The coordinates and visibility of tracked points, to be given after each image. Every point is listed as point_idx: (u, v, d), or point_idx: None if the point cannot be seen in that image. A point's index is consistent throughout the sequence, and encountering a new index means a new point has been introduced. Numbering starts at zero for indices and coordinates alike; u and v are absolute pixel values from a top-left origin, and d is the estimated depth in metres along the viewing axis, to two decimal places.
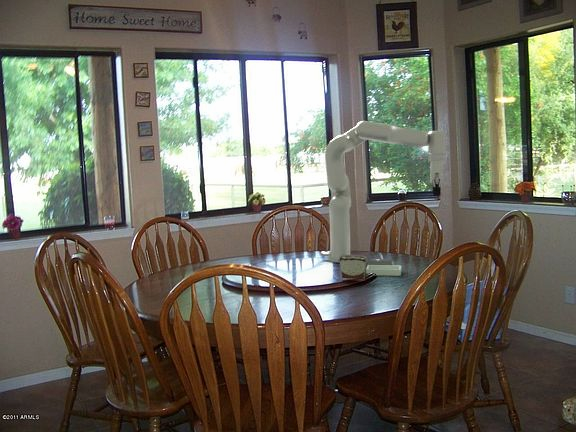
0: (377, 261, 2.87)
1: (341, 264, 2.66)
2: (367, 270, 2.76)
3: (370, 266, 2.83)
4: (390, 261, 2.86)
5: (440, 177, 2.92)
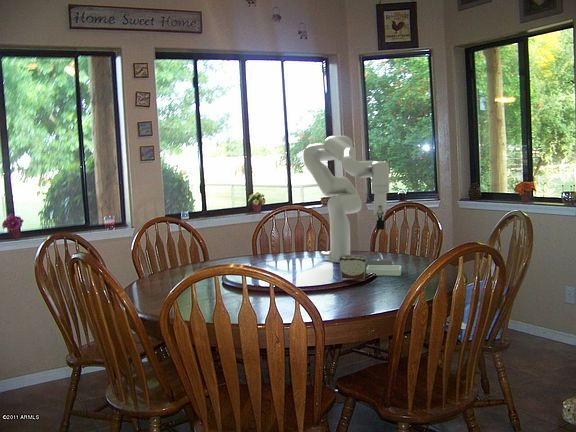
0: (377, 261, 2.87)
1: (341, 264, 2.66)
2: (367, 270, 2.76)
3: (370, 266, 2.83)
4: (390, 261, 2.86)
5: (383, 210, 2.81)
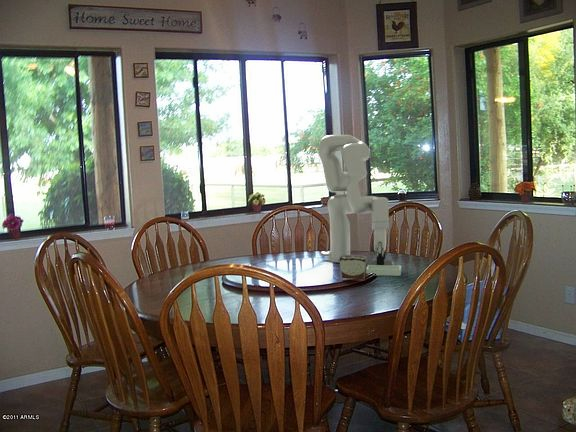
0: None
1: (341, 264, 2.66)
2: (367, 270, 2.76)
3: (370, 266, 2.83)
4: (390, 261, 2.86)
5: (383, 246, 2.82)
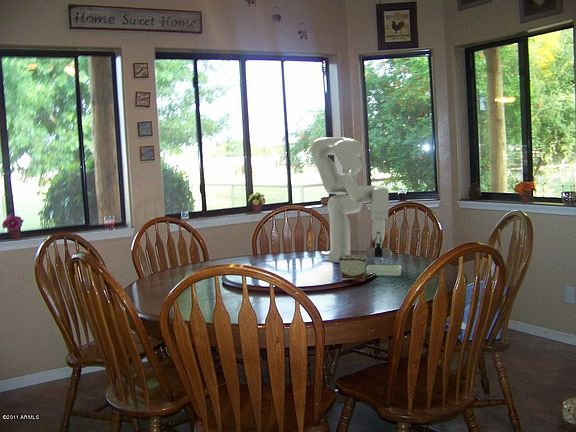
0: None
1: (341, 264, 2.66)
2: (367, 270, 2.76)
3: (370, 266, 2.83)
4: (388, 250, 2.86)
5: (382, 239, 2.83)
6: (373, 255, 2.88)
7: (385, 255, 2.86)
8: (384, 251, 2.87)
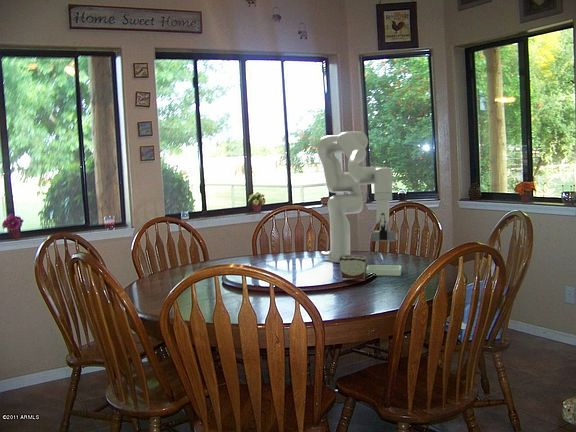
0: None
1: (341, 264, 2.66)
2: (367, 270, 2.76)
3: (370, 266, 2.83)
4: (394, 233, 2.74)
5: None
6: (378, 238, 2.76)
7: (390, 238, 2.74)
8: (389, 233, 2.75)
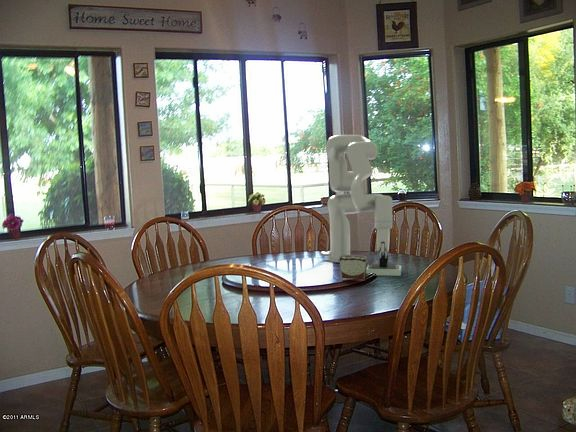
0: None
1: (341, 264, 2.66)
2: (367, 270, 2.76)
3: (370, 266, 2.83)
4: (394, 264, 2.76)
5: (386, 248, 2.73)
6: None
7: None
8: (389, 265, 2.76)
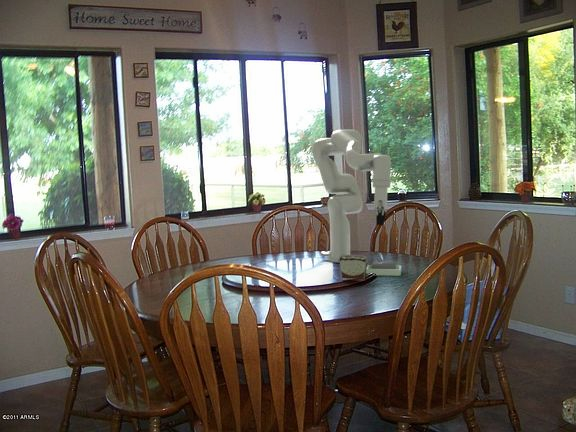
0: (380, 264, 2.77)
1: (341, 264, 2.66)
2: (367, 270, 2.76)
3: (370, 266, 2.83)
4: (394, 264, 2.76)
5: (384, 205, 2.74)
6: None
7: None
8: (389, 265, 2.76)
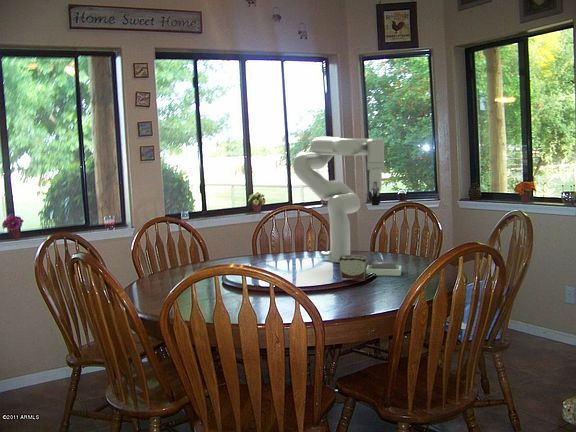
0: (380, 264, 2.77)
1: (341, 264, 2.66)
2: (367, 270, 2.76)
3: (370, 266, 2.83)
4: (394, 264, 2.76)
5: (378, 186, 2.86)
6: None
7: None
8: (389, 265, 2.76)
